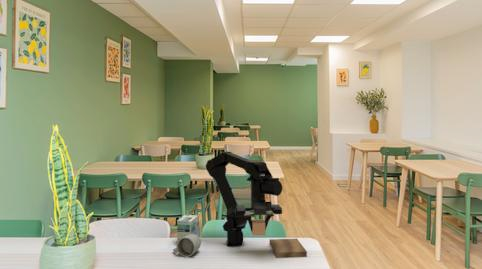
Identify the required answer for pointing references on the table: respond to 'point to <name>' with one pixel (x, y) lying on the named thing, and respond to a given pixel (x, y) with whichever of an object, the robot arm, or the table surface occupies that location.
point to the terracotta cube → (258, 227)
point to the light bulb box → (187, 226)
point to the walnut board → (287, 248)
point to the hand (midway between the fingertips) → (258, 230)
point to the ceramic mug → (188, 245)
